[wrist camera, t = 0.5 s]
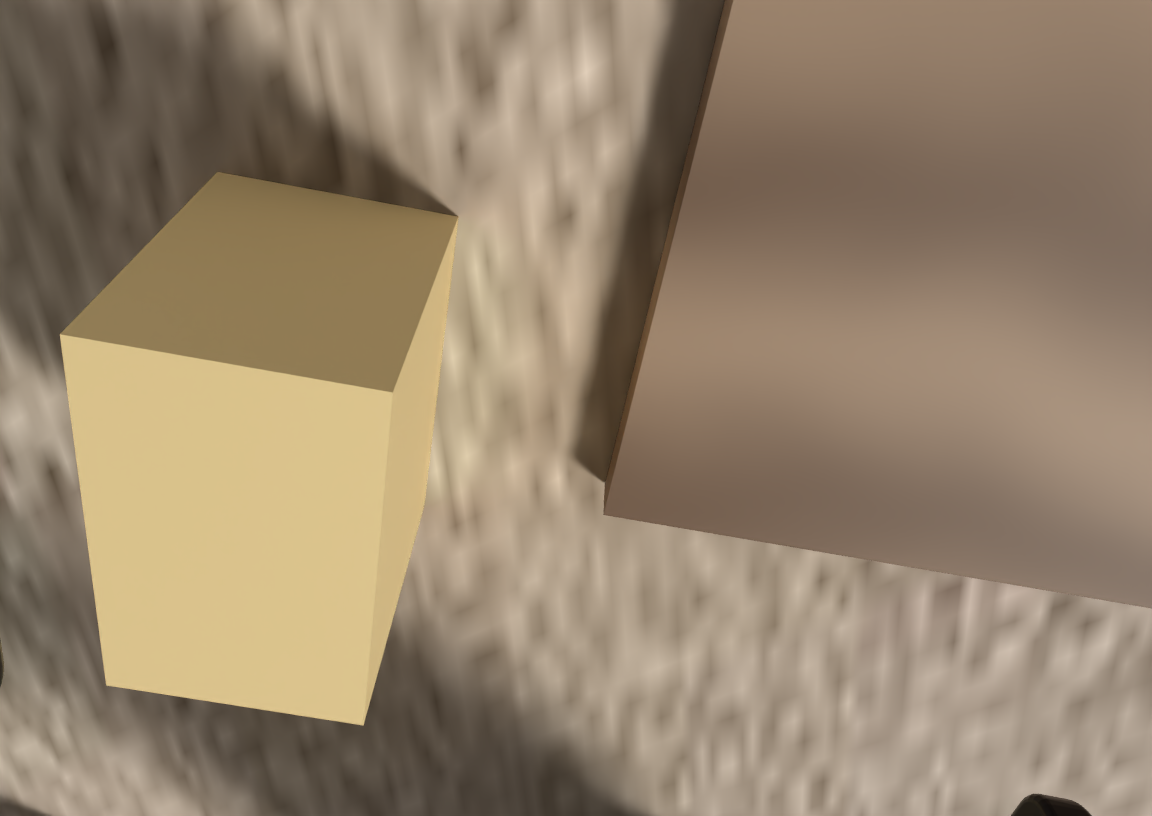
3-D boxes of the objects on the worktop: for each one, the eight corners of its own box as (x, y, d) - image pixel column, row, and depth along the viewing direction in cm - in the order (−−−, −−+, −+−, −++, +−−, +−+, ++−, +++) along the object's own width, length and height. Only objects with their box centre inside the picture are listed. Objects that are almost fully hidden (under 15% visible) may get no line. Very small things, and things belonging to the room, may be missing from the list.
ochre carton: (458, 215, 18) (392, 393, 13) (424, 504, 22) (363, 725, 17) (207, 168, 18) (44, 331, 13) (217, 469, 22) (93, 683, 17)
